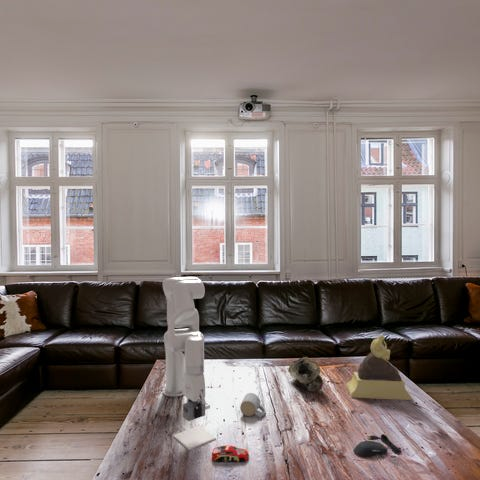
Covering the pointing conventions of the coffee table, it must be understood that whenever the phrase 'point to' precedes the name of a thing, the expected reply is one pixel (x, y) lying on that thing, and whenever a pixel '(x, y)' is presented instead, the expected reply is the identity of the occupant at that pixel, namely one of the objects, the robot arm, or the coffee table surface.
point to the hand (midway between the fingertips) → (194, 414)
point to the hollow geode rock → (307, 374)
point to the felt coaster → (194, 437)
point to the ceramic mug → (251, 405)
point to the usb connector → (189, 410)
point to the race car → (229, 454)
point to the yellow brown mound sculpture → (377, 376)
